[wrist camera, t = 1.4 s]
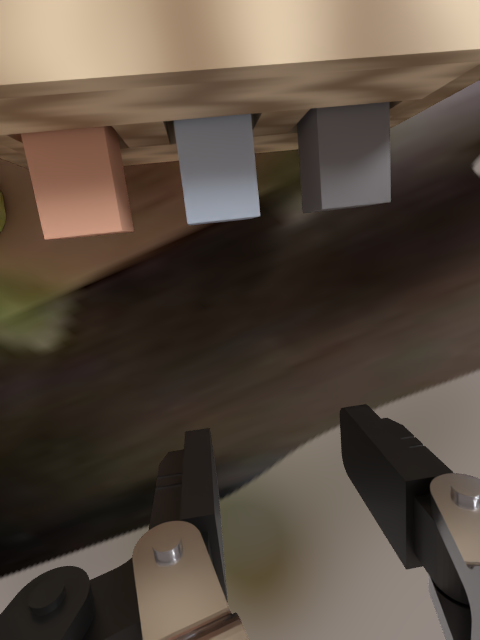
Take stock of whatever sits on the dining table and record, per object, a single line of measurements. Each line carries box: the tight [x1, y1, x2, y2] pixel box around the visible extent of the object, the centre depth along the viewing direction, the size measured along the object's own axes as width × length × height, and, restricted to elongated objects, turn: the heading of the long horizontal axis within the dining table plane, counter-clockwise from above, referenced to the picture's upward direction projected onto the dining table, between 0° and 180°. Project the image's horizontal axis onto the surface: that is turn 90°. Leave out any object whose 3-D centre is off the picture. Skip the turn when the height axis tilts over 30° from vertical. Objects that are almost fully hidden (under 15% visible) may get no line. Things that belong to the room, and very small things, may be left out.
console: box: [0, 0, 480, 169], centre depth 20 cm, size 25×9×16 cm, turn 96°
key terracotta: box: [21, 126, 134, 239], centre depth 21 cm, size 4×6×4 cm, turn 6°
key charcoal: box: [297, 102, 391, 213], centre depth 22 cm, size 4×6×4 cm, turn 6°
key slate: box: [173, 114, 260, 225], centre depth 22 cm, size 4×6×4 cm, turn 6°
